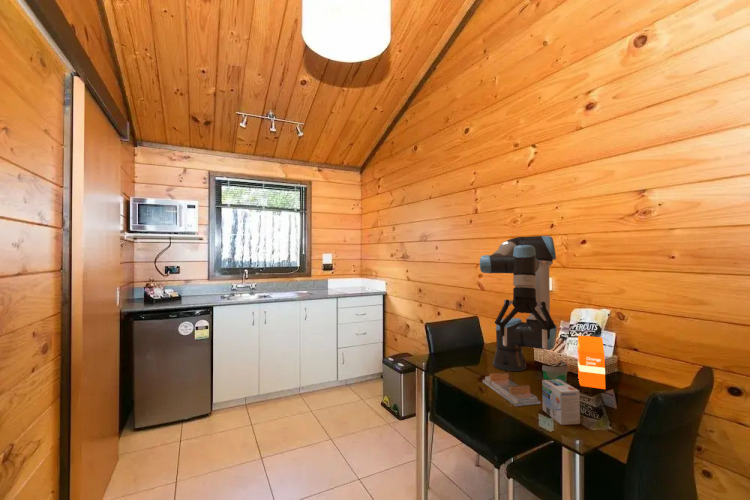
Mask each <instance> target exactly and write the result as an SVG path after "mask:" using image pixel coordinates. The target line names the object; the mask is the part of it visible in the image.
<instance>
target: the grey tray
mask: <svg viewBox="0 0 750 500" xmlns="http://www.w3.org/2000/svg"><path fill="white" fill-rule="evenodd" d="M482 383H483V384H484V385H486V386H487V387H489V388H490V389H492V390H493V392H496V393H497V394H499V395H500V396H501V397H503V399H505V400H507V401H508V403H511V404H512V405H514V406H515V407H524V406H533V405H541V404H542V403H541V402H542V401H541V400H540V399H538V396H536V395H535V394H533V393H532V392H531V385H530V384H524V385H523V384H522V385H519V384H517V383H516V382H514V381H512V380H511V379H510V375H509V371H507V372H496V373H490V374H489V375H488V376H487V375H486V376H485V378H484V379H482Z"/></svg>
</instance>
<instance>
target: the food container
mask: <svg viewBox="0 0 750 500" xmlns="http://www.w3.org/2000/svg"><path fill="white" fill-rule="evenodd" d="M541 367H542V368H541V370H542V372H543V373H542V374H543V380H554V379H560V380H562V381H563V382H565V383H567V377H568V376H567V375H568V372H569V371H570V368H569V365H568V364H567V362H565V361H563V360H560V361H559V362H557V363H552V364H549V365H545V364H542V366H541Z"/></svg>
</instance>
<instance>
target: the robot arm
mask: <svg viewBox="0 0 750 500" xmlns="http://www.w3.org/2000/svg"><path fill="white" fill-rule="evenodd" d="M555 248H556V247H555V241H554V238H553V237H552V236H551V235H531V236H516V237H511V238H509V239H507V240H505V241H503V242H502V243H501V244H500V245H499V246H498V249H497V250H496V251H495V252H493V253H492V254H491V255H490V254H486V255H481V256H480V258H479V269H480V272H481V273H482V274H483V273H484V274H489V275H490V274H513V277H512V278H513V281H512V285H513V286H514V287H513V288H512V291H513V292H512V295H513V297H512V300H511V299H510V300H509V299H504V301H503V305H502V308H501V310H500V312H499V313H498V315H497V317H496V319H495V321H494V324H495V331H496V332H495V334H496V335H495V336H496V337H495V338H496V339H495V341H496V344H495V345H496V350H495V352H494V353H495V354H494V356H493V360H492V365H493V367H495V368H497V369H499V370H503V371H507V372H521V371H525V370H527V363H526V358H525V356H524V354H523V348H530V349H540V350H551V351H552V350H553V349H555V345H556V341H557V340H556V339H557V335H558V334H557V331H558V325H557V324H555V323H554V319H552V316H551V314H550V313H551V312H550V311H551V310H550V309H551V307H550V306H551V305H550V302H551V301H550V298H551V297H550V295H551V293H550V292H551V291H550V266H552V265H553V264H554V263H553V262H554V260H556V259H557V253H556V249H555ZM511 305H512V306H513V308H512V310H511V311H510V313H509V314H507V315H506V313H507V311H508V309H509V307H510V306H511ZM518 313H519V314H529V315H528V316H527V317H526V321H525V322H524V321H522V319H521V318H520V317H514V316H516V315H517V314H518ZM505 315H506V317H505V318H504V316H505Z"/></svg>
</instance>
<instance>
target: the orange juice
mask: <svg viewBox="0 0 750 500" xmlns="http://www.w3.org/2000/svg"><path fill="white" fill-rule="evenodd" d="M605 360H606V359H605V349H604V341H603V337H601V336H600V337H599V336H588V335H587V336H586V335H578V336H577V372H578V373H577V375H578V376H577V379H579V380H578V382H579V383H578V384H579V385H580V387H585V388H593V389H594V388H595V389H601V390H606V366H605V365H606V361H605Z"/></svg>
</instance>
